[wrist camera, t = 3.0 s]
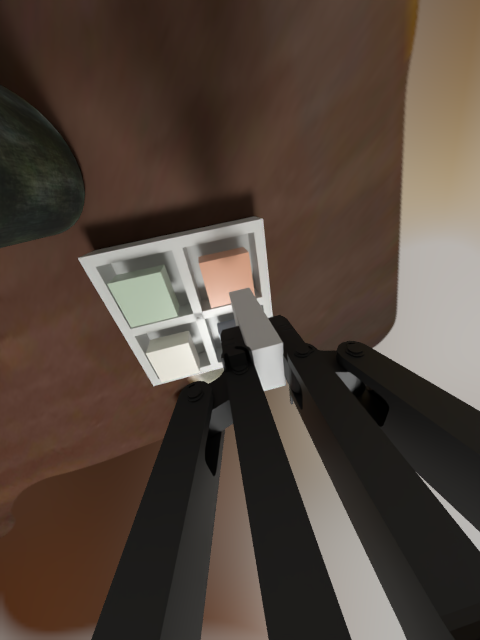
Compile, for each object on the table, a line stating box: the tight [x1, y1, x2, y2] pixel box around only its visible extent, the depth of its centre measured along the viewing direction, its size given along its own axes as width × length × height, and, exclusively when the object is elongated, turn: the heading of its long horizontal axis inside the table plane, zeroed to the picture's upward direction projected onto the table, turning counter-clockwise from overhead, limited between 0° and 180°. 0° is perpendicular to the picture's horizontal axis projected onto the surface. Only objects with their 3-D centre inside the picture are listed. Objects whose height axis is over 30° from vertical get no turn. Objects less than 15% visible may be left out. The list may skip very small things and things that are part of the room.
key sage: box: [107, 265, 180, 328], centre depth 20 cm, size 5×5×3 cm
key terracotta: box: [198, 247, 255, 308], centre depth 21 cm, size 5×5×3 cm
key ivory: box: [146, 330, 200, 382], centre depth 24 cm, size 5×5×3 cm
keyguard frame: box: [78, 217, 273, 386], centre depth 24 cm, size 17×17×3 cm
